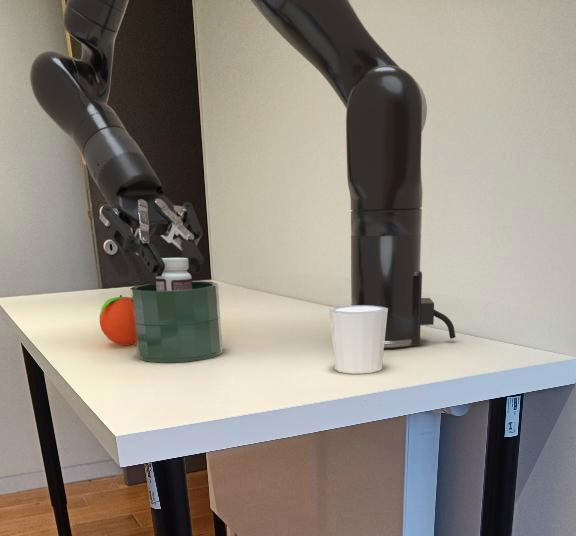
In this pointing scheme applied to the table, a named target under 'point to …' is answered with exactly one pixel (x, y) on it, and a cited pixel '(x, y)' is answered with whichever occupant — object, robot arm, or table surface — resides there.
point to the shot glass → (358, 338)
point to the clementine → (118, 320)
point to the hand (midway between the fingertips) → (180, 269)
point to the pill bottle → (174, 275)
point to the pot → (177, 322)
